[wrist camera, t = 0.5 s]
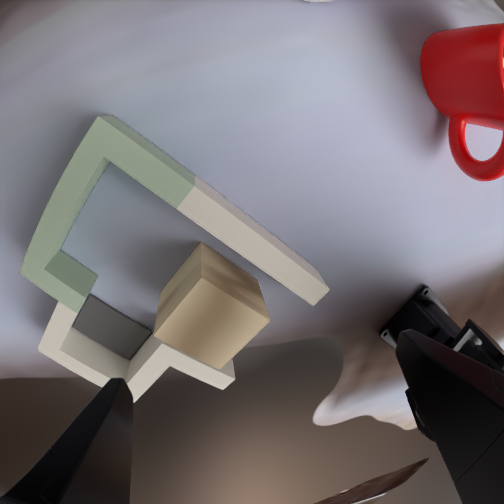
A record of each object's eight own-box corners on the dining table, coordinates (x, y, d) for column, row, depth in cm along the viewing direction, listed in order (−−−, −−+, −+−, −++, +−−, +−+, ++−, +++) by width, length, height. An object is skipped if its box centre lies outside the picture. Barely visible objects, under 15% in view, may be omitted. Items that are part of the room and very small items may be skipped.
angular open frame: (315, 268, 23) (330, 289, 20) (182, 398, 27) (182, 422, 24) (113, 115, 16) (98, 115, 14) (17, 304, 20) (2, 325, 18)
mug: (408, 158, 20) (484, 186, 13) (421, 16, 15) (494, 1, 8) (471, 175, 22) (537, 204, 15) (484, 53, 17) (551, 55, 10)
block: (256, 278, 23) (270, 320, 18) (214, 323, 24) (219, 369, 19) (201, 240, 21) (201, 277, 16) (160, 291, 22) (153, 335, 17)
